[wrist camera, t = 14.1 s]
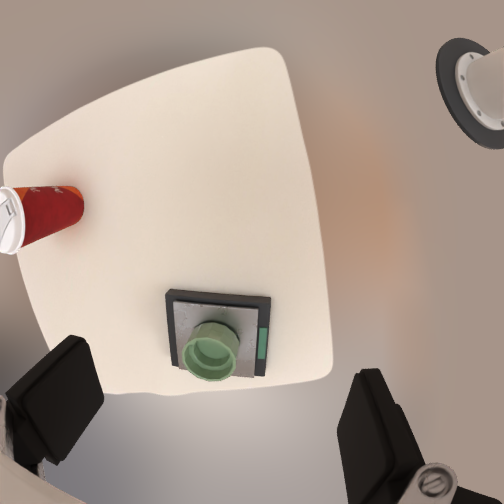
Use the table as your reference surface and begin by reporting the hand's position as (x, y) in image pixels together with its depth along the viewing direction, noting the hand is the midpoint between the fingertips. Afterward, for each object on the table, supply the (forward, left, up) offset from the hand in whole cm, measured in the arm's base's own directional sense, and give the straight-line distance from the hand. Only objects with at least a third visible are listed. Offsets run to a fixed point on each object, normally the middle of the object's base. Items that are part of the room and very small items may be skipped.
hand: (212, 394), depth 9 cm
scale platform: (+5, +14, -26) cm, 30 cm away
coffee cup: (+29, -3, -28) cm, 41 cm away
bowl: (+5, +15, -25) cm, 30 cm away
